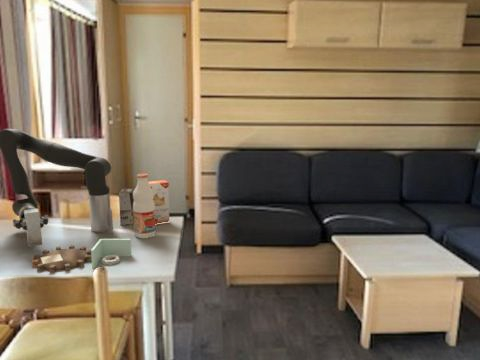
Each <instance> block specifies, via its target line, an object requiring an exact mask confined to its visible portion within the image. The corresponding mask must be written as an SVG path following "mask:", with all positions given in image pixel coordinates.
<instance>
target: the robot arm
mask: <svg viewBox="0 0 480 360" xmlns="http://www.w3.org/2000/svg"><path fill="white" fill-rule="evenodd" d="M17 150H22V151H25V152H29V153H33V154H34V155H35V156H37V157H38V158H40V159H41V160H43V161H46V162H47V163H50V164H54V165H57V166H61V167H67V168H79V169H83V170H84V176H85V177H84V178H85V185H86V189H87V191H88V203H89V217H90V218H89V219H90V230H91V231H92V232H95V233H97V232H98V233H101V232H108V231H110V230H113V229H114V226H113V225H114V223H113V210H112V208H111V196H110V195H111V193H110V192H111V191H110V190H111V189H110V187H109V185H108V184H107V181H106V180H107V179H106V177H107V176H108V175H109V174H110V173H111V171H112V165H111V163H110V162H109V161H108V159H106V158H104V157H100V156H95V155H91V154H88V153H83V152H81V151H78V150H76V149H73V148H71V147H68V146H65V145H63V144H60V143H57V142H53V141H49V140H46V139H42V138H39V137H36V136H34V135H31V134H28V133H27V132H25V131H22V130H20V129H18V128H3V129H1V130H0V151H1V154H2V156H3V159H4V161H5V164H6V166H7V170H8V173H9V176H10V177H9V178H10V182H11V186H12V192H13V194H14V195H22V196H23V195H24V196H26V198H21V199H16V200H15V201H13V203H12V204H11V208H12V211H13V213H14V214H15V216H17V217H18V218H19V219H12V224H13V227H15V228H16V229H18V230H20V229H21V228H22V230H24V231H26V230H27V225H26V223H25V215H24V210H30V209H38V210H39V203H38V202H37V200H36V198H35V197H34V195H33V193H32V190H31V186H30V183H29V182H30V181H29V177H28V173H27V172H26V170H25V168H24V166H23V164H22V162H21V160H20V158H19V156H18V151H17ZM39 217H40V227H41V229H43V228H44V227H45V226H46V225H48V223H49V220H50V219H49V215H48V214H45V215H43V216H42V215H40V214H39Z"/></svg>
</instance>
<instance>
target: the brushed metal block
mask: <svg viewBox="0 0 480 360" xmlns="http://www.w3.org/2000/svg"><path fill="white" fill-rule="evenodd" d="M24 215H25V223H26V225H27V230H26V241H27V245H28V247H30V248H31V247H35V246H36V247H37V246H42V245H43V236H42V228H41V227H40V217H39V215H40V212H39V208H38V209H30V210H24Z"/></svg>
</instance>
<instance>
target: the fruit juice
mask: <svg viewBox="0 0 480 360" xmlns="http://www.w3.org/2000/svg"><path fill="white" fill-rule="evenodd" d="M149 177H150V175H149V174H148V173H138V174H137V175H136V178H137V182H136V186H135V190H134V191H133V198H134V204H133V215H134V224H133V230H134V231H133V233H134V237H135V238H137V237H139V238H138V239H147V238H146V237H150V238H152V237H151V236H153V235H155V236H156V233H157V230H156V225H155V205H154V202H153V197H154V192H153V190H152V188H151V187H150V185H149V182H150V181H149ZM153 237H154V236H153Z"/></svg>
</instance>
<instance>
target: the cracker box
mask: <svg viewBox="0 0 480 360" xmlns="http://www.w3.org/2000/svg"><path fill="white" fill-rule="evenodd" d="M148 182H149V185H150V187H151V188H152V190H153V192H154V197H153V202H154V205H155V224H157V223H162V222H168V221H169V222H170V186H169V184H170V183H169V181H167V180H165V179H162V180H152V181H148Z"/></svg>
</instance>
